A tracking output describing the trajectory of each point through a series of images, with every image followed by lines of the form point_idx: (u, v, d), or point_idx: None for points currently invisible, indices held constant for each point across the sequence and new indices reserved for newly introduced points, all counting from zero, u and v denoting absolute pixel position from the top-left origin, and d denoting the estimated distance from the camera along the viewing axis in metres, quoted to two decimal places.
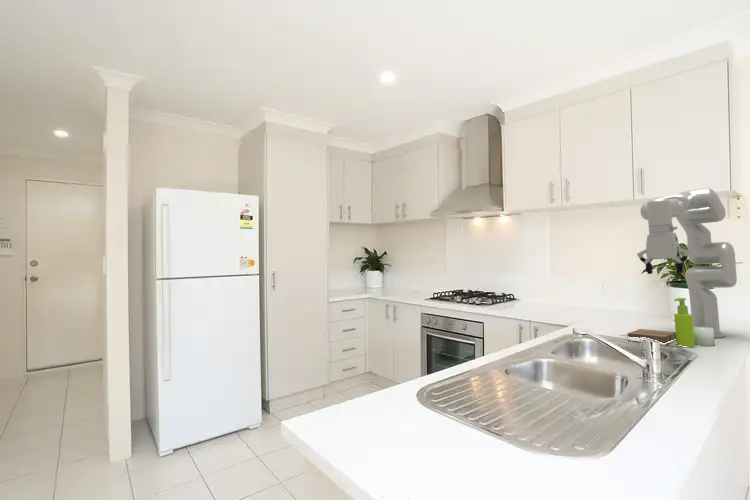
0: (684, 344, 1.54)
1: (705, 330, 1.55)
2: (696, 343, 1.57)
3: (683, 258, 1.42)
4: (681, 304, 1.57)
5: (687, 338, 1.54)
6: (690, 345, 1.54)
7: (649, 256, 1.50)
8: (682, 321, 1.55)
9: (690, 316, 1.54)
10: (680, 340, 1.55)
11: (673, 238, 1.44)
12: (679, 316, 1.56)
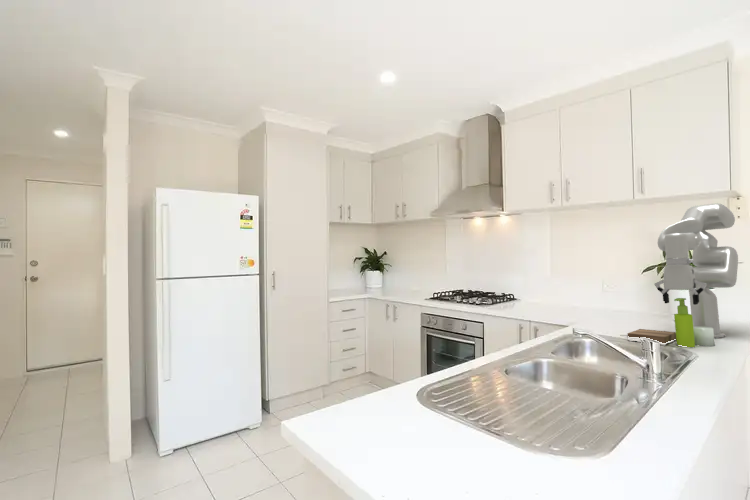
0: (684, 344, 1.54)
1: (705, 330, 1.55)
2: (696, 343, 1.57)
3: (699, 290, 1.51)
4: (681, 304, 1.57)
5: (687, 338, 1.54)
6: (690, 345, 1.54)
7: (666, 286, 1.59)
8: (682, 321, 1.55)
9: (690, 316, 1.54)
10: (680, 340, 1.55)
11: (690, 271, 1.53)
12: (679, 316, 1.56)
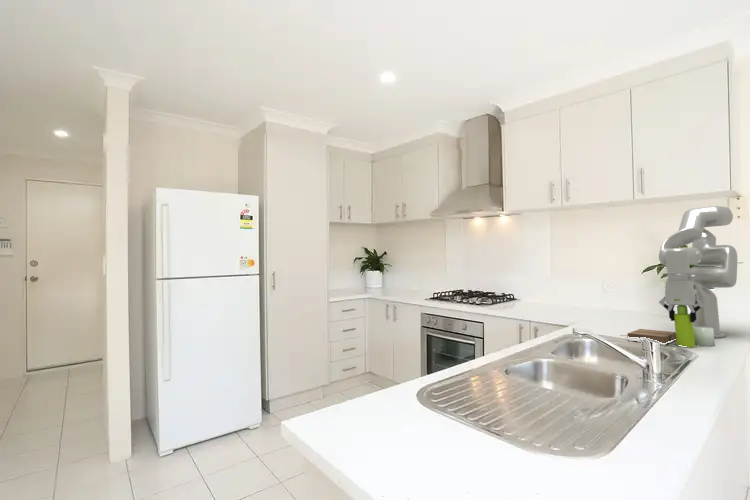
0: (684, 344, 1.54)
1: (705, 330, 1.55)
2: (696, 343, 1.57)
3: (696, 308, 1.52)
4: None
5: (687, 338, 1.54)
6: (690, 345, 1.54)
7: (668, 302, 1.59)
8: (682, 321, 1.55)
9: None
10: (680, 340, 1.55)
11: (691, 287, 1.53)
12: (679, 316, 1.56)
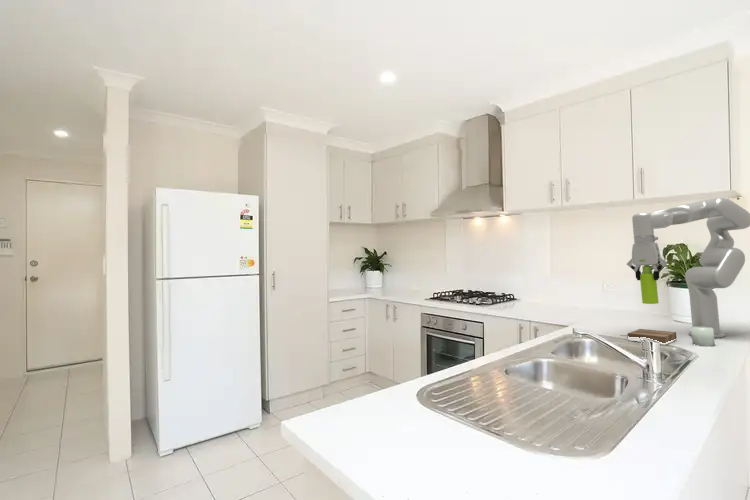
0: (648, 301, 1.68)
1: (705, 330, 1.55)
2: (696, 343, 1.57)
3: (659, 267, 1.65)
4: None
5: (651, 295, 1.67)
6: (654, 301, 1.67)
7: (634, 263, 1.72)
8: (647, 280, 1.68)
9: (653, 274, 1.67)
10: (645, 297, 1.69)
11: (654, 247, 1.66)
12: (644, 275, 1.69)
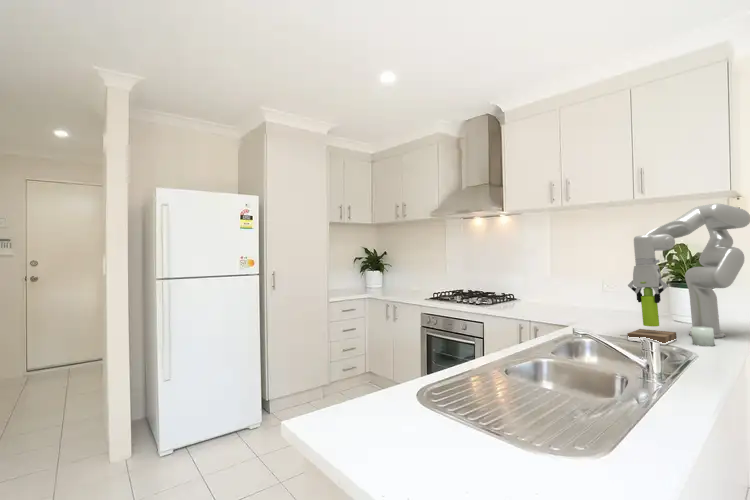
0: (649, 323, 1.68)
1: (705, 330, 1.55)
2: (696, 343, 1.57)
3: (660, 290, 1.65)
4: None
5: (652, 318, 1.67)
6: (654, 324, 1.67)
7: (635, 285, 1.72)
8: (648, 302, 1.68)
9: (654, 297, 1.67)
10: (646, 319, 1.69)
11: (656, 270, 1.66)
12: (645, 297, 1.69)
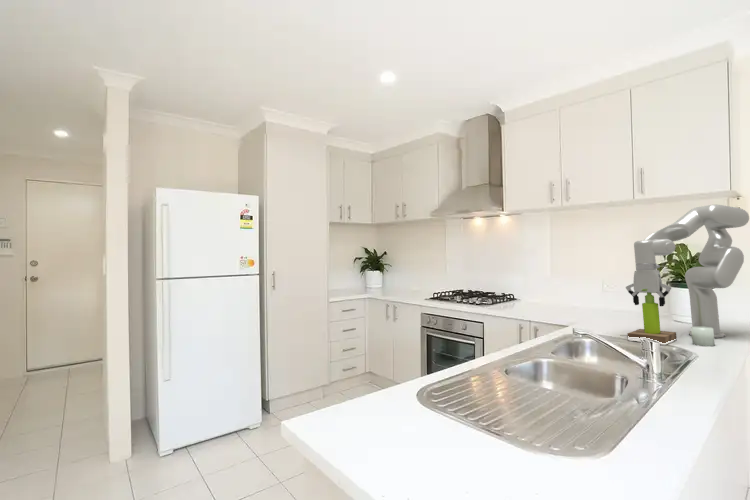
0: (650, 330, 1.68)
1: (705, 330, 1.55)
2: (696, 343, 1.57)
3: (665, 293, 1.64)
4: (648, 294, 1.70)
5: (653, 325, 1.67)
6: (656, 331, 1.67)
7: (636, 290, 1.72)
8: (649, 310, 1.68)
9: (656, 304, 1.67)
10: (647, 327, 1.68)
11: (656, 275, 1.66)
12: (646, 305, 1.69)
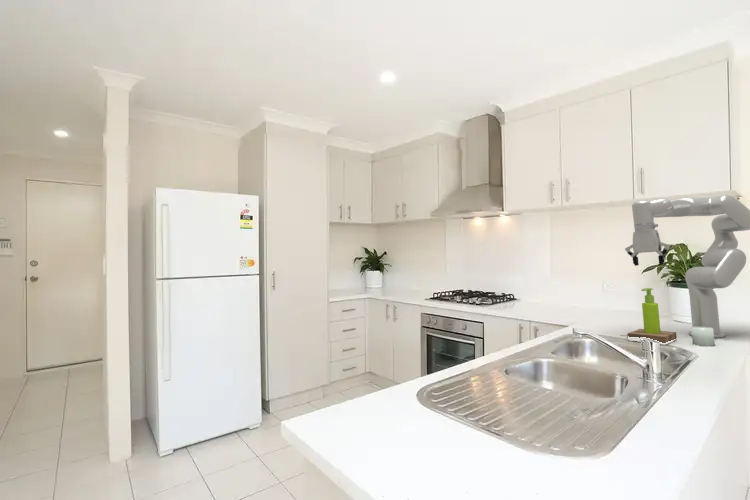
0: (650, 330, 1.68)
1: (705, 330, 1.55)
2: (696, 343, 1.57)
3: (664, 251, 1.67)
4: (648, 294, 1.70)
5: (653, 325, 1.67)
6: (656, 331, 1.67)
7: (635, 250, 1.75)
8: (649, 310, 1.68)
9: (655, 304, 1.67)
10: (647, 327, 1.69)
11: (655, 234, 1.68)
12: (646, 305, 1.69)
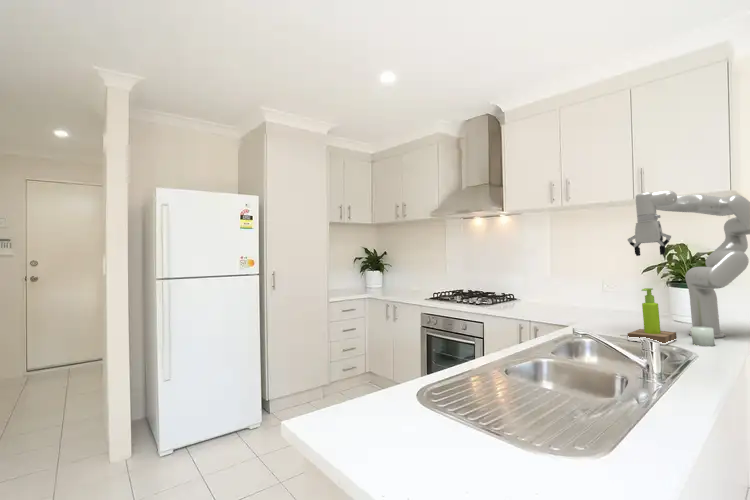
0: (650, 330, 1.68)
1: (705, 330, 1.55)
2: (696, 343, 1.57)
3: (665, 242, 1.71)
4: (648, 294, 1.70)
5: (653, 325, 1.67)
6: (656, 331, 1.67)
7: (637, 241, 1.79)
8: (649, 309, 1.68)
9: (656, 304, 1.67)
10: (647, 327, 1.69)
11: (657, 225, 1.73)
12: (646, 305, 1.69)
